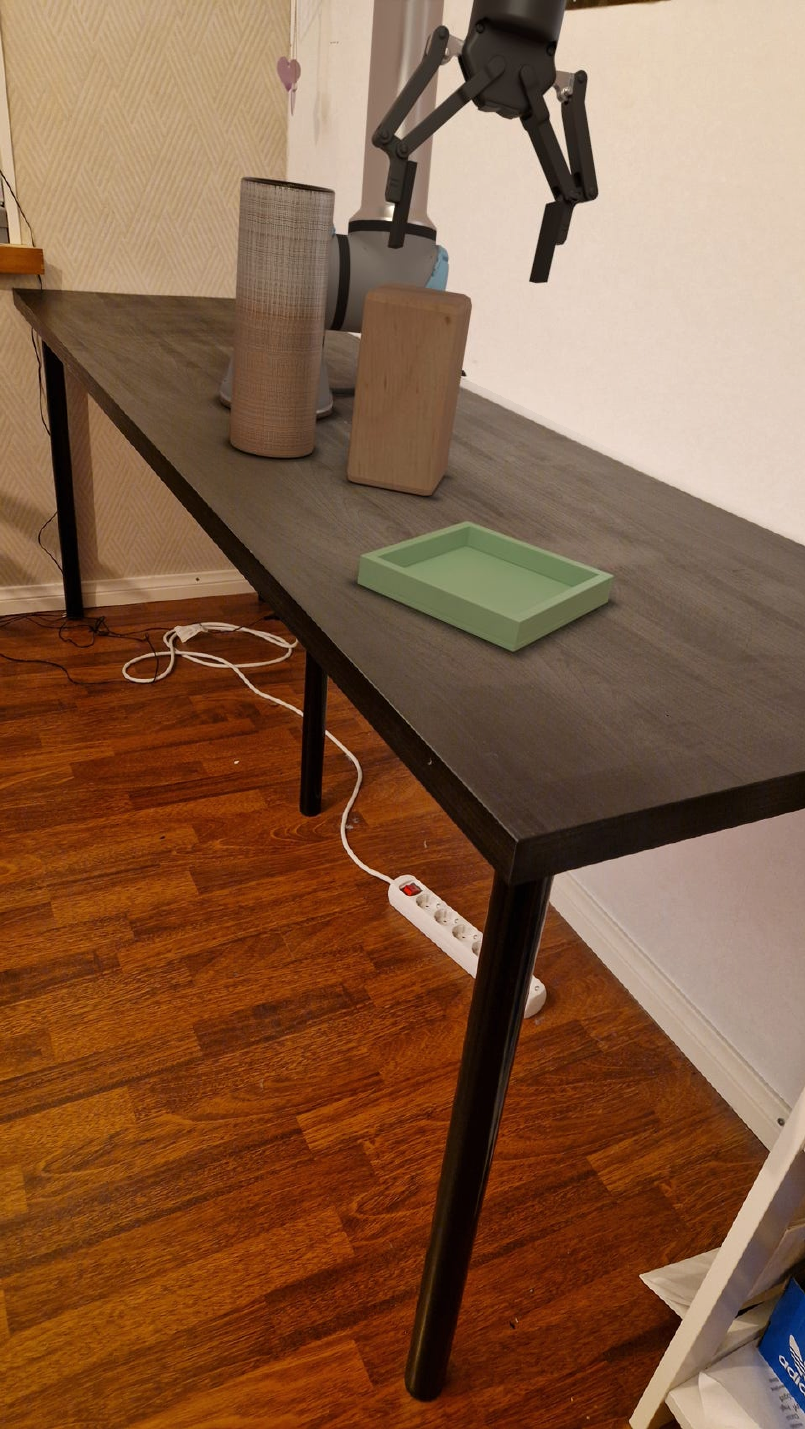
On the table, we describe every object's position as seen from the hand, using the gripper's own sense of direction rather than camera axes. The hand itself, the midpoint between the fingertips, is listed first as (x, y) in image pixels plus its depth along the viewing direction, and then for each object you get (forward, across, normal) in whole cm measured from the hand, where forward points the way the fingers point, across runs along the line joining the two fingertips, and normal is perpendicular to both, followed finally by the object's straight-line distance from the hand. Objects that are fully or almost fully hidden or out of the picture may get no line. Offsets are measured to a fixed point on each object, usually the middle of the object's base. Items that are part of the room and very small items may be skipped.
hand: (468, 265), depth 85 cm
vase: (+21, -11, +29) cm, 37 cm away
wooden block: (+22, +2, +19) cm, 29 cm away
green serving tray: (+26, +4, -12) cm, 29 cm away
